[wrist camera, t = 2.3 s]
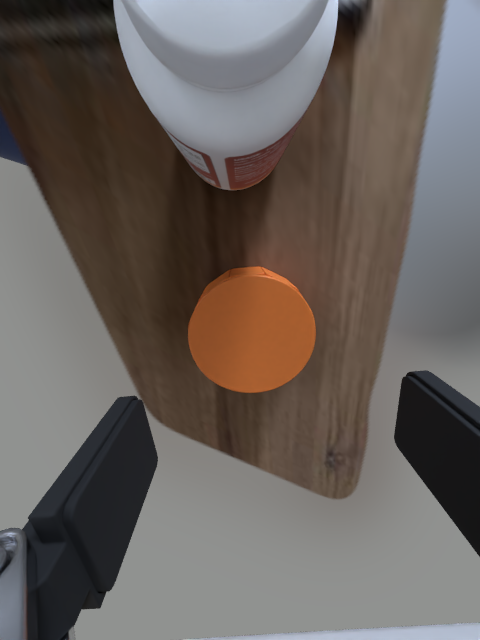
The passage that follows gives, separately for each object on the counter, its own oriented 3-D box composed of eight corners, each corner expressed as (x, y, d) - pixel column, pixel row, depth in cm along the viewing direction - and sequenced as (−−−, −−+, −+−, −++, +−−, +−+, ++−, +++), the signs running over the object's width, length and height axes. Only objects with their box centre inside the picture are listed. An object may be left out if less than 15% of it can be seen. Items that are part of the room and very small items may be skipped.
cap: (181, 343, 19) (169, 366, 15) (222, 247, 16) (219, 251, 13) (271, 380, 20) (278, 409, 17) (321, 295, 18) (341, 310, 14)
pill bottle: (294, 74, 13) (500, -491, 3) (276, 198, 15) (361, 123, 5) (180, 56, 13) (-41, -648, 3) (177, 185, 15) (46, 78, 5)
